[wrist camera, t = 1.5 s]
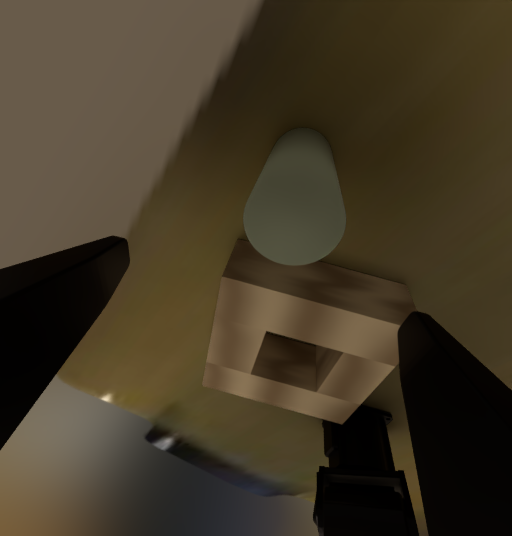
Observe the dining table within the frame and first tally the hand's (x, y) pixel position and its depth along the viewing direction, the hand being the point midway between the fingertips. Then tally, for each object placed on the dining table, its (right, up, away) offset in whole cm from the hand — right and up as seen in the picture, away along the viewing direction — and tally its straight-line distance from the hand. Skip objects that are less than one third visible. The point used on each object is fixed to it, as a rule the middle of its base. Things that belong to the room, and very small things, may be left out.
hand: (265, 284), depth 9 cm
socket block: (+4, -4, +18) cm, 19 cm away
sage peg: (+3, +8, +10) cm, 12 cm away
